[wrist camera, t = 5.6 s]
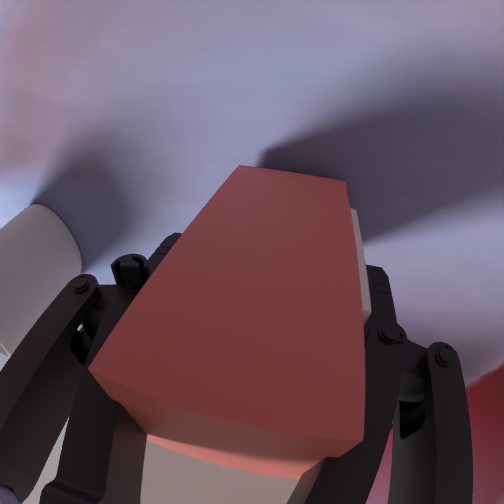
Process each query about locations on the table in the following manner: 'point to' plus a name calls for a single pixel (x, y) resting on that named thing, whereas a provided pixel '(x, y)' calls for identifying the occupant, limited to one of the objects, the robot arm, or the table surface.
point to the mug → (32, 270)
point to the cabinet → (205, 481)
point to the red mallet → (249, 330)
